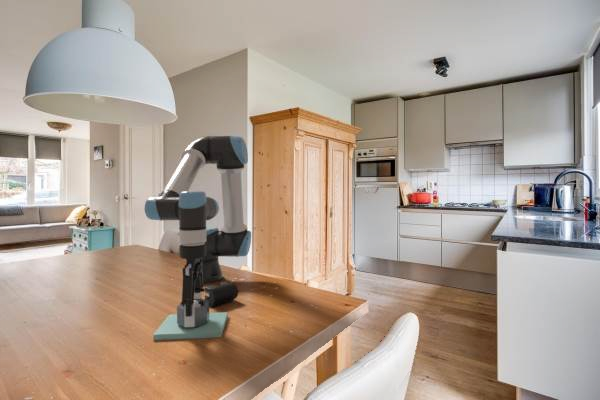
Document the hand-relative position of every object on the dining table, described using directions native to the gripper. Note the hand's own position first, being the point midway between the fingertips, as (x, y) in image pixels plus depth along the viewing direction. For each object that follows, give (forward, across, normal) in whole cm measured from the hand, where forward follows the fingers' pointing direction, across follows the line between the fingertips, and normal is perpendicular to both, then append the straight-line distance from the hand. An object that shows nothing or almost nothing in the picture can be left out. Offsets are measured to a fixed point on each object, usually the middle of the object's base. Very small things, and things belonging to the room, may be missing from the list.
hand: (193, 319), depth 92 cm
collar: (0, 0, 0) cm, 0 cm away
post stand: (+2, 0, 0) cm, 2 cm away
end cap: (+3, -20, +5) cm, 21 cm away
